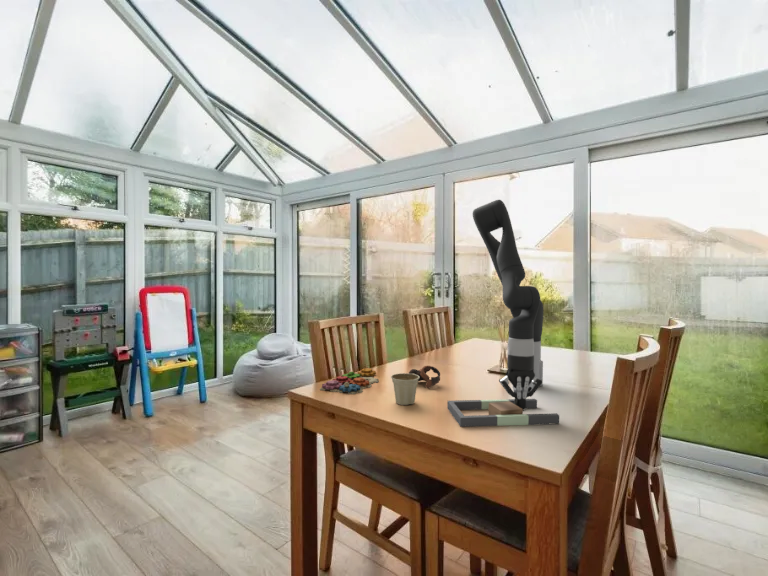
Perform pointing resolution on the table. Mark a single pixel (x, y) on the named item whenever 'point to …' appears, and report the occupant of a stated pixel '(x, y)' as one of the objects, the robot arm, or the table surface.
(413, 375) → the flower pot
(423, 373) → the brown ring toy
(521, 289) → the robot arm
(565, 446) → the table surface
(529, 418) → the box
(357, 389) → the gear puzzle
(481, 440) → the table surface
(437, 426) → the table surface
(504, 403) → the walnut block
